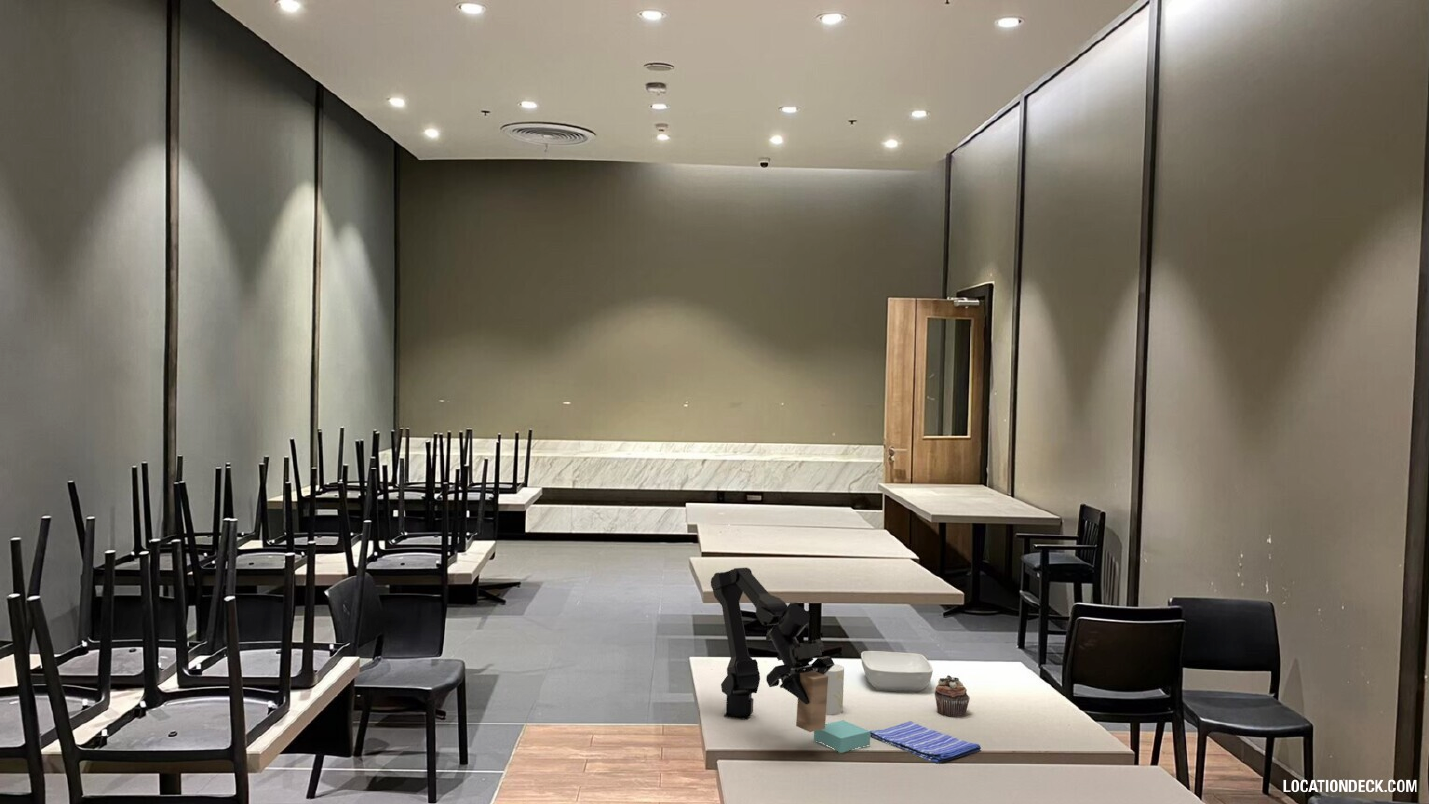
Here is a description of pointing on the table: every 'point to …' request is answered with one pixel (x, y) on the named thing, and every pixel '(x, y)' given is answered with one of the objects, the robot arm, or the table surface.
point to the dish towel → (925, 742)
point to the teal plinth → (843, 736)
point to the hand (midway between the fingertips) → (816, 701)
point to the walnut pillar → (813, 702)
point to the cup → (835, 690)
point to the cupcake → (951, 697)
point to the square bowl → (896, 670)
